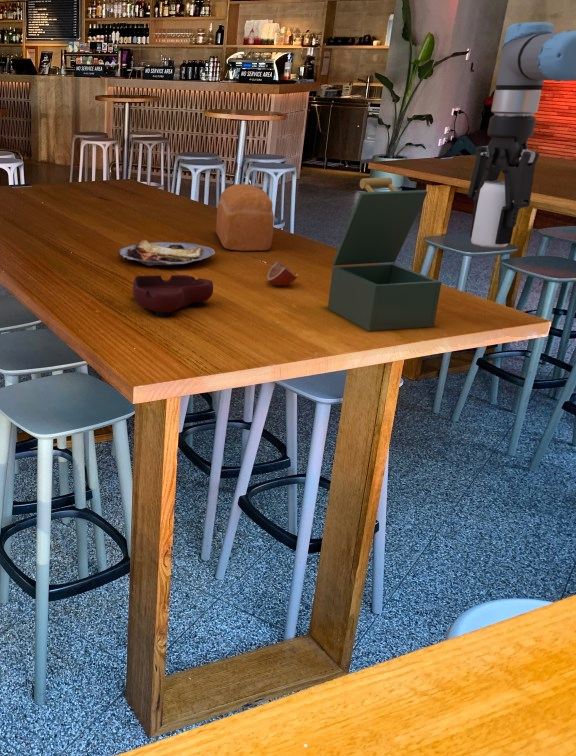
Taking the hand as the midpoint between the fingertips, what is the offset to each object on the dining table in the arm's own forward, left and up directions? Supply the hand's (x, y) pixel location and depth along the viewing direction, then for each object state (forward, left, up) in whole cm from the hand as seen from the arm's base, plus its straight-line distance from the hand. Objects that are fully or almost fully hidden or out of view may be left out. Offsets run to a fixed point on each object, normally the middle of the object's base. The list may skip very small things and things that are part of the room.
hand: (489, 239), depth 154 cm
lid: (+9, +18, +1) cm, 20 cm away
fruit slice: (+33, +26, -16) cm, 45 cm away
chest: (+5, +18, -16) cm, 25 cm away
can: (0, 0, -1) cm, 1 cm away
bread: (+81, +15, -16) cm, 84 cm away
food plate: (+64, +44, -16) cm, 80 cm away
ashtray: (+23, +58, -16) cm, 65 cm away
